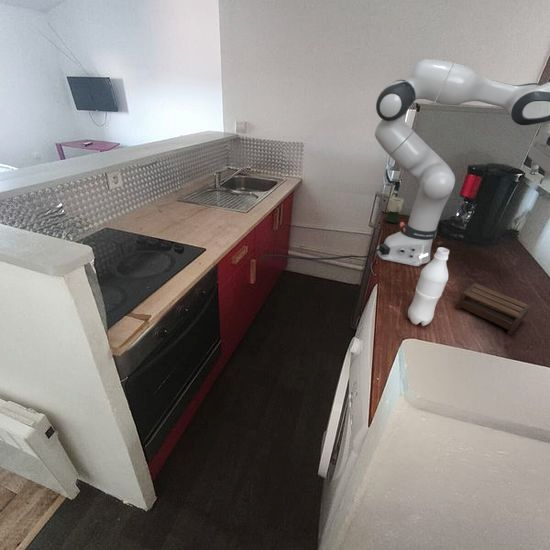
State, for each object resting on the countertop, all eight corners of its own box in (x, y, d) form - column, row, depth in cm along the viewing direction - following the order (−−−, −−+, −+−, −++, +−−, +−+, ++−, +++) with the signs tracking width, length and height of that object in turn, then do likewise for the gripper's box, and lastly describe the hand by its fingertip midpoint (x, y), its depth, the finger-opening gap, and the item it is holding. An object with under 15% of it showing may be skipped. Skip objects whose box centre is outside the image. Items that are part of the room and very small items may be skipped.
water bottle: (401, 313, 95) (424, 244, 82) (422, 312, 96) (448, 243, 83) (412, 328, 89) (438, 256, 76) (434, 327, 90) (464, 255, 77)
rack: (509, 335, 88) (520, 319, 84) (454, 309, 98) (461, 293, 95) (521, 322, 93) (531, 305, 90) (468, 298, 104) (475, 282, 100)
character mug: (401, 225, 160) (407, 202, 153) (388, 225, 160) (394, 202, 153) (393, 218, 169) (399, 196, 163) (381, 218, 169) (386, 196, 162)
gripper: (531, 128, 99) (516, 169, 107) (556, 143, 83) (537, 190, 92) (555, 126, 97) (538, 168, 105) (585, 142, 81) (562, 190, 90)
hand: (537, 179), depth 98 cm, fingers open, 8 cm apart
